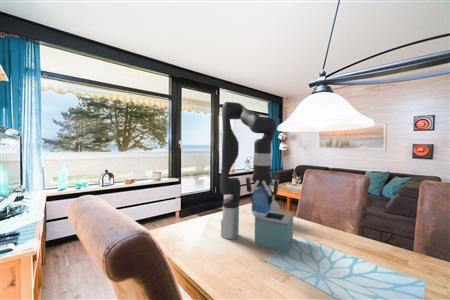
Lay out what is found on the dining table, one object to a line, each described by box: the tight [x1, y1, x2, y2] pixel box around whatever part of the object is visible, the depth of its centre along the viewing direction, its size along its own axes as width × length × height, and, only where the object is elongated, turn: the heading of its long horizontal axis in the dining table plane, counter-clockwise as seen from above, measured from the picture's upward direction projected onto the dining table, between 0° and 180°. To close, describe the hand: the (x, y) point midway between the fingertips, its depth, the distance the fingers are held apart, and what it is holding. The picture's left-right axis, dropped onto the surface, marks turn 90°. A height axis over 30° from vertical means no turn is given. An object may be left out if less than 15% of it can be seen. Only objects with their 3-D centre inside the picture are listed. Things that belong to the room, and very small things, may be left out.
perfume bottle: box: [251, 183, 271, 214], centre depth 88 cm, size 6×6×12 cm
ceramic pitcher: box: [250, 188, 281, 219], centre depth 141 cm, size 22×20×25 cm
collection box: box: [254, 210, 294, 254], centre depth 111 cm, size 16×16×14 cm
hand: (261, 202), depth 88 cm, fingers closed on perfume bottle, 6 cm apart
